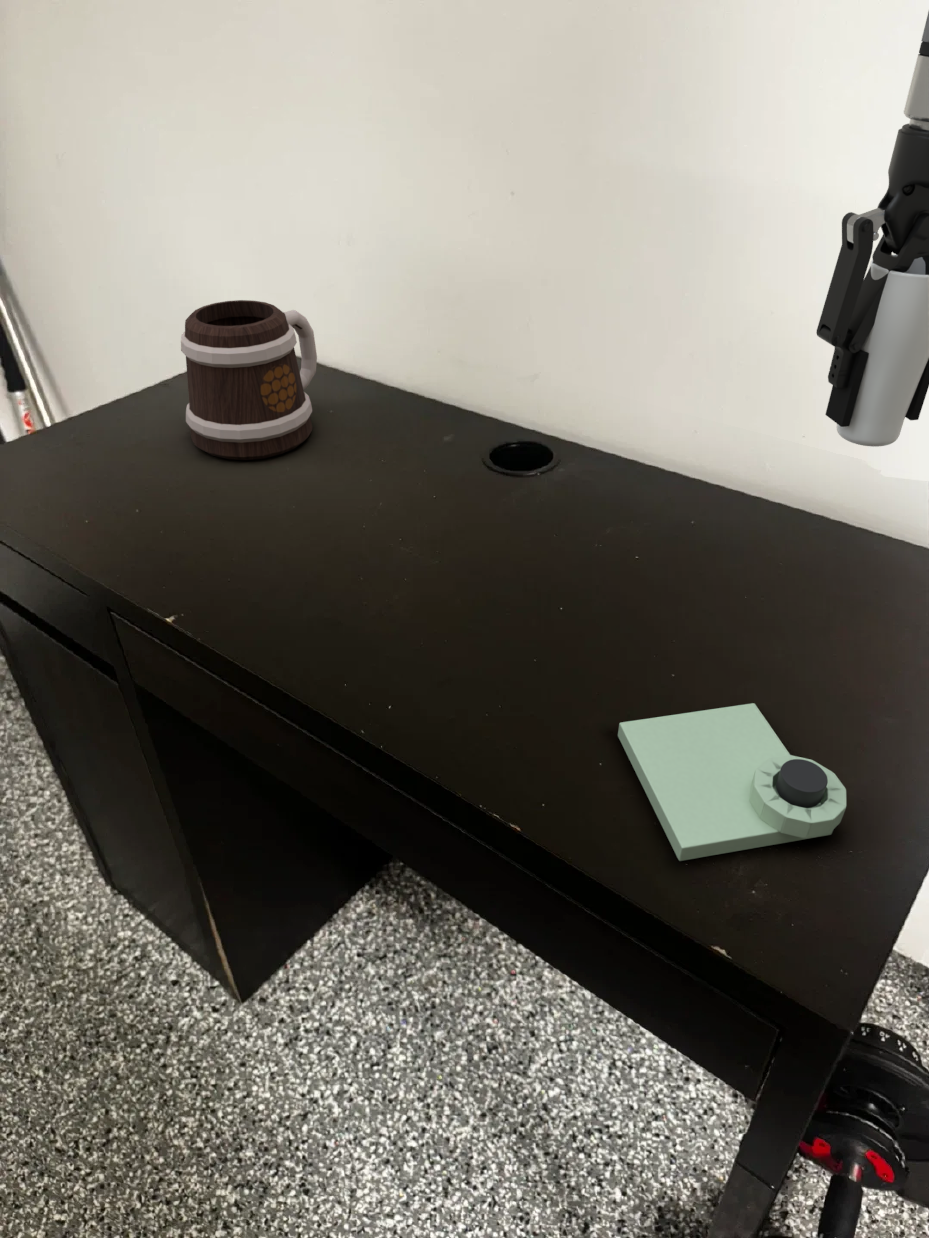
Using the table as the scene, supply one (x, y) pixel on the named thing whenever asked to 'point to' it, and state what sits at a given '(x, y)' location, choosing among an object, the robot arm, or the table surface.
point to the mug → (248, 379)
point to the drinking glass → (892, 357)
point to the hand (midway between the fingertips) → (871, 416)
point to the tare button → (801, 783)
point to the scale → (723, 782)
